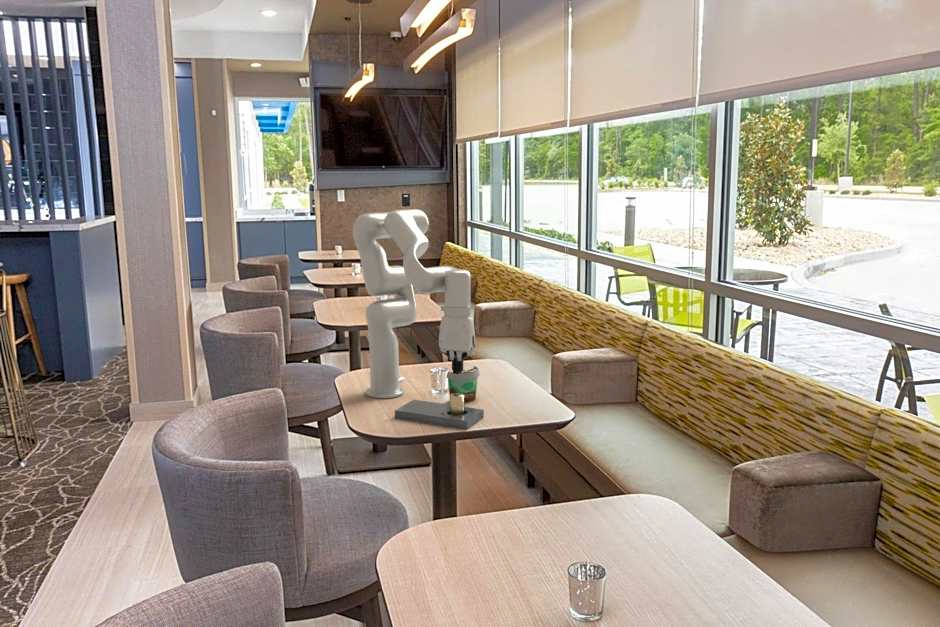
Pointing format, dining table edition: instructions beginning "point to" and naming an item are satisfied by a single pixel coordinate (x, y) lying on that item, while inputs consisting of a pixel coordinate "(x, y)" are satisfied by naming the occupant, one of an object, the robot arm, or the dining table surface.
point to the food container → (464, 383)
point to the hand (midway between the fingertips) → (457, 372)
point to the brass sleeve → (457, 404)
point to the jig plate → (438, 414)
